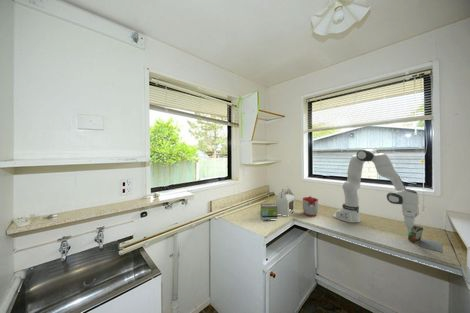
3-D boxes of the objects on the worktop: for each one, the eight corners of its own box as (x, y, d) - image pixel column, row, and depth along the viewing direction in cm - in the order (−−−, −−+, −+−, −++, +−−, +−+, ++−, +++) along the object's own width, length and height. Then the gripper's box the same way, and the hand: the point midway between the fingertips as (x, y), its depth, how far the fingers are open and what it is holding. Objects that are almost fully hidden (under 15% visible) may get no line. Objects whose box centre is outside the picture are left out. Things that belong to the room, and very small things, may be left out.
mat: (419, 246, 119) (419, 245, 119) (420, 238, 129) (420, 237, 129) (442, 252, 111) (442, 252, 111) (441, 243, 122) (441, 243, 122)
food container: (410, 235, 133) (412, 223, 132) (421, 240, 127) (423, 227, 126) (402, 239, 127) (404, 226, 126) (413, 243, 122) (416, 230, 121)
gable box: (287, 217, 176) (287, 190, 175) (275, 214, 184) (275, 188, 183) (294, 210, 194) (294, 186, 193) (283, 208, 202) (283, 185, 201)
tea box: (262, 221, 167) (262, 206, 166) (260, 217, 177) (260, 203, 177) (277, 220, 167) (277, 206, 167) (274, 216, 177) (274, 202, 177)
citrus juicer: (303, 217, 174) (303, 198, 173) (301, 211, 191) (301, 194, 190) (320, 218, 170) (320, 199, 169) (316, 212, 187) (316, 194, 186)
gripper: (405, 207, 136) (405, 224, 137) (402, 213, 123) (402, 232, 123) (417, 209, 132) (417, 226, 132) (415, 216, 118) (415, 235, 119)
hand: (410, 229), depth 128 cm, fingers open, 8 cm apart
